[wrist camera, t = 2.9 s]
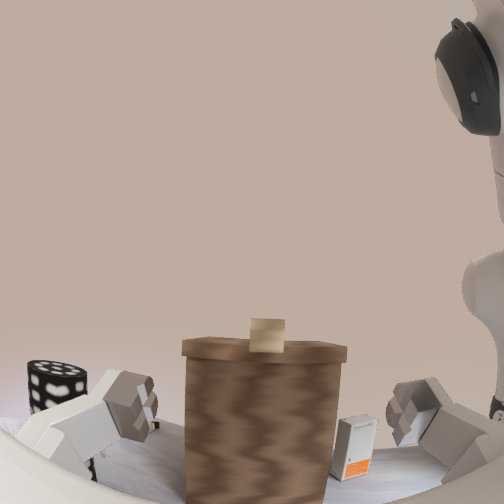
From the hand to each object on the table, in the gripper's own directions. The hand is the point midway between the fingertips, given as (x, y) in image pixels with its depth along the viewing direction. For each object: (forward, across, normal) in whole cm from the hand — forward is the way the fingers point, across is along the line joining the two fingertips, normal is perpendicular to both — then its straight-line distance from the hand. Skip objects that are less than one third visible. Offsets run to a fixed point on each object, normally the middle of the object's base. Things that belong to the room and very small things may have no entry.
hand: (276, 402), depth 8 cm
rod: (+23, 0, +13) cm, 26 cm away
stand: (+16, 0, +39) cm, 42 cm away
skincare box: (+18, -17, +41) cm, 48 cm away
